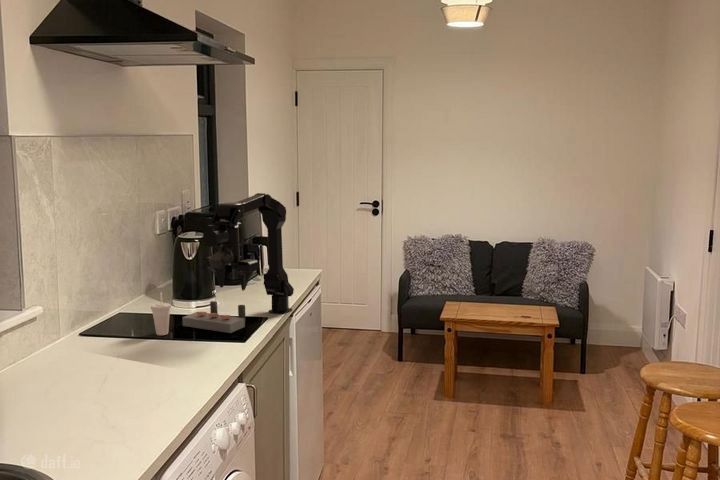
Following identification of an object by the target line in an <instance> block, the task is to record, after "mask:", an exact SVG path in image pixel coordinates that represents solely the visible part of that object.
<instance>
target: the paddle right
mask: <svg viewBox="0 0 720 480" xmlns="http://www.w3.org/2000/svg"><path fill="white" fill-rule="evenodd" d="M220 315H221V316H220V318H222V319H229V318H230V316H231V315H229V314H220Z"/></svg>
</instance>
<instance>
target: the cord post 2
mask: <svg viewBox="0 0 720 480" xmlns="http://www.w3.org/2000/svg"><path fill="white" fill-rule="evenodd" d="M237 311H238V313H237V315H238V317H239V318H245V324H246V321H247V319H246V305H245V304H238V306H237Z"/></svg>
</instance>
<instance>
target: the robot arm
mask: <svg viewBox="0 0 720 480" xmlns="http://www.w3.org/2000/svg"><path fill="white" fill-rule="evenodd" d="M255 210H257V211H258V212H259V213H260V214H261V219H262V222H263V224H264V225H265V227H266V229H267V250H268V251H267V252H268V269H267V271H266V273H264V274H263V285H264V289H265V292H266V296H271V309H269V310H268V313H275V314H282V315H283V314H287V313H289V312H291V311H293V308H291V307H290V306H289V304H290V302H289V297H292V296H293V295H294V292H295V291H294V290H295V289H294V287H293V286H292V284H291V283H290V282H289V276H288V274H287V272H286V270H285V268H284V261H283V259H284V258H283V235H282V234H283V233H282V227H283V226H284V224H285V222H286V220H287V209H286V206H285V205H283V204H282V203H281V201H279V200H278V199H277V200H276V199H275V198H273V197H272V196H271V195H270V194H268V193H266V192H265V193H263V192H262V193H261V192H260V193H259V192H258V193H255V194H253V195H252V196H248V197H246V198H244V199H241V200H239V201H234V202H224V203H223V202H222V203H220V204H218V205H217V208H216V211H215V213H214V215H213V218H212V220H211V222H210V224H209V225H206V229H205V230H204V232H203V234H202V242H203V244H204V245H205V246H206V247H208V248H213V247H217V246H218V247H217V249H218V251H217V252H215V253H213V255H211V256H208V257H205V259H204V267H207V269H209V270H210V271H212V273H214V275H215V278H216V280H217V283H218V285H219V287H220V288H224V285H225V275H226V266H229V267H238V270H239V271H237V273H238V274H239V275H240V287H241V291H243V292H244V291H245V290H246V288H247V286H248V283H249V280H250V279H251V277H252V275H253V273H254V272H255V271H257V270H258V269H259V268H260V265H259V261H258V260H257V259H250V258H248V259H244V260H243V256H241V255H240V254H241V253H240V252H241V251H240V249H241V248H242V247H243V244H242V243H240V229H239V228H242V227H243V224H242V223H241V222H240V220H241V219H244V216H245V214H247V213H250V212H253V211H255Z"/></svg>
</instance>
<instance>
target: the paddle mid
mask: <svg viewBox="0 0 720 480" xmlns="http://www.w3.org/2000/svg"><path fill="white" fill-rule="evenodd" d="M209 313H210V314H209V315H208V317H218V315H219V313H218V314H217V313H211V312H209Z"/></svg>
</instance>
